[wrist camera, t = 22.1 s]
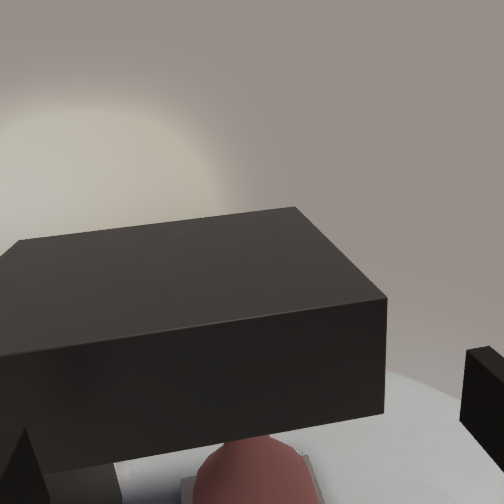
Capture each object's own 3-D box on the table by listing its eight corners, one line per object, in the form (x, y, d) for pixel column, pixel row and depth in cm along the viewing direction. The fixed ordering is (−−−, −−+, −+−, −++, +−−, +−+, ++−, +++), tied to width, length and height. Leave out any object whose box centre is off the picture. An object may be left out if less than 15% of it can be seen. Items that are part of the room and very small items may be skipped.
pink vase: (221, 645, 23) (190, 475, 18) (185, 522, 29) (156, 377, 25) (345, 577, 25) (343, 414, 21) (286, 478, 32) (276, 339, 28)
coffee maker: (314, 460, 34) (303, 205, 27) (386, 660, 22) (402, 295, 15) (95, 502, 32) (18, 240, 25) (42, 746, 20) (-139, 376, 13)
